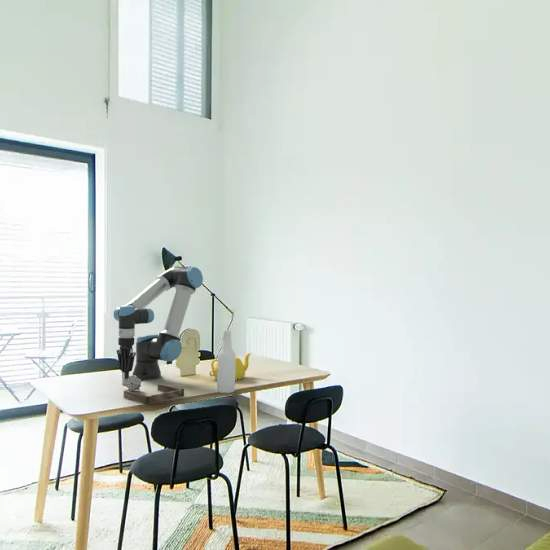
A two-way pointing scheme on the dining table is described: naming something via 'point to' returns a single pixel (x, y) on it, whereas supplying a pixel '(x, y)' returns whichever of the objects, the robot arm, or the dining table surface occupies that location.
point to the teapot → (239, 367)
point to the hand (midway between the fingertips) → (125, 385)
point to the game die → (133, 382)
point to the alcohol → (226, 365)
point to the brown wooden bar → (169, 394)
